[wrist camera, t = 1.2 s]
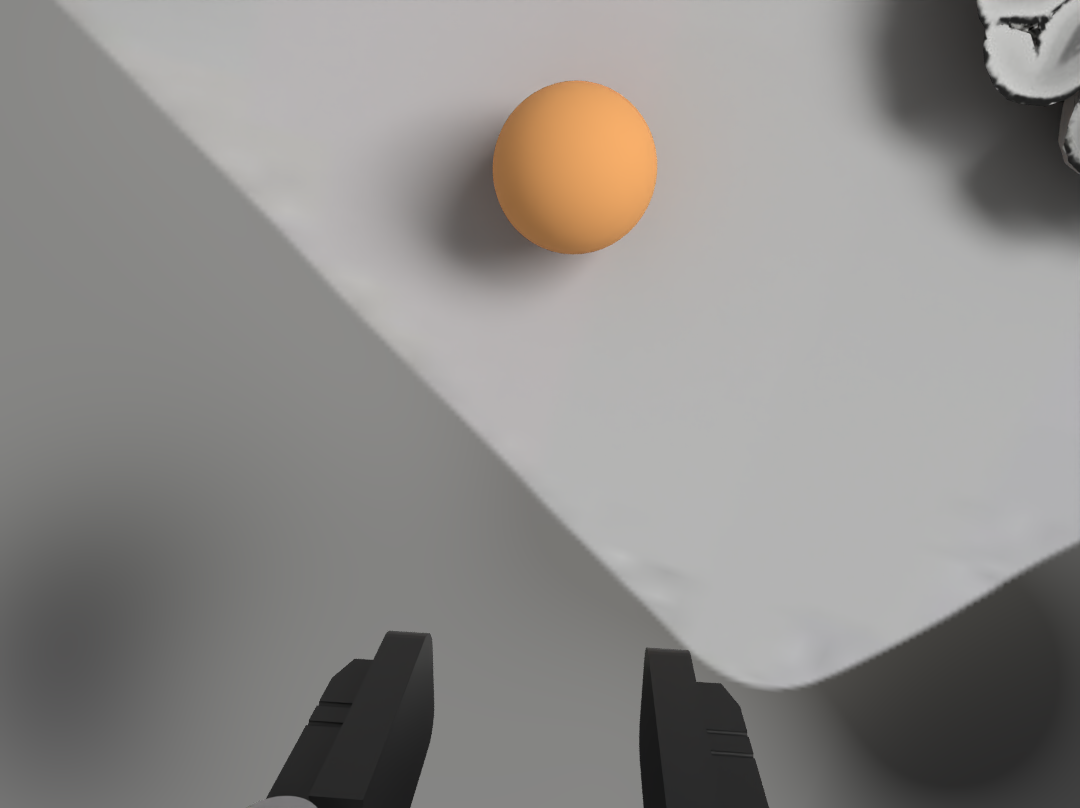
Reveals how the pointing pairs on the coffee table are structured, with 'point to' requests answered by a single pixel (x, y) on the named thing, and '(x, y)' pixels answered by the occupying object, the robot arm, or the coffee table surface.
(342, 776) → the robot arm
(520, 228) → the ball
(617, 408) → the coffee table surface
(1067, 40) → the brain slice
